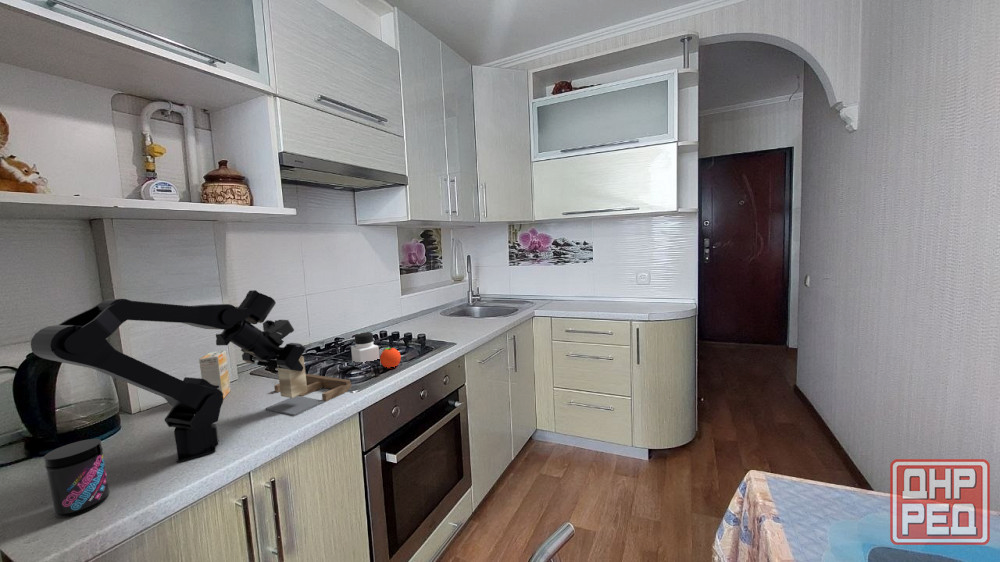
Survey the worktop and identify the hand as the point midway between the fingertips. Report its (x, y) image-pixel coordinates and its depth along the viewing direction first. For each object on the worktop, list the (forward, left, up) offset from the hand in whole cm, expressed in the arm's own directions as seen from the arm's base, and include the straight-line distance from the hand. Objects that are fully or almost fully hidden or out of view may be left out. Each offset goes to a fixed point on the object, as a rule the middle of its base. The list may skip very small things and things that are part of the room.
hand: (296, 368), depth 107 cm
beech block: (-1, -1, -7) cm, 7 cm away
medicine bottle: (+24, +22, -10) cm, 34 cm away
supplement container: (-36, -24, -10) cm, 45 cm away
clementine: (+29, +14, -10) cm, 34 cm away
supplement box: (-19, +24, -10) cm, 32 cm away
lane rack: (+4, +9, -10) cm, 14 cm away
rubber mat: (-1, -1, -10) cm, 10 cm away
